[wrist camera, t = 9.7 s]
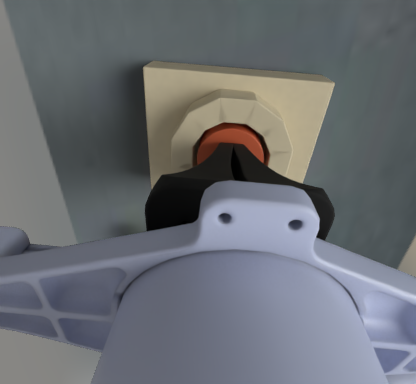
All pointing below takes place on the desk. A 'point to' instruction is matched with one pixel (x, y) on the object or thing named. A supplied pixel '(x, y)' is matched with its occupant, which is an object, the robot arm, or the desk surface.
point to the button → (229, 139)
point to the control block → (232, 113)
